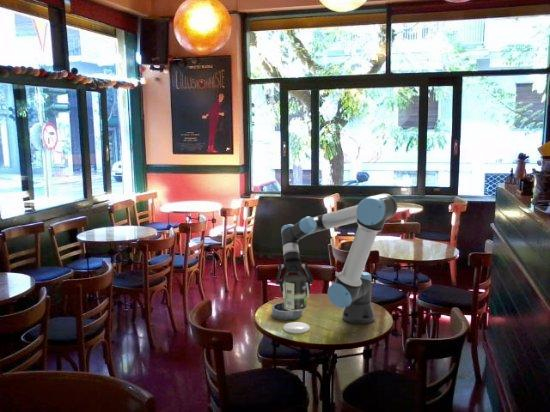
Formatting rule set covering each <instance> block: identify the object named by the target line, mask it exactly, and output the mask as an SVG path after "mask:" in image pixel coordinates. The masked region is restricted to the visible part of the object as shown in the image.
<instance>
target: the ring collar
mask: <svg viewBox="0 0 550 412" xmlns="http://www.w3.org/2000/svg"><path fill="white" fill-rule="evenodd" d="M284 306H285V301H282V302H277V303H274V304H273V305H272V306H271V316H272V318H275V319H277V320H282V321H291V320H292V321H293V320H297V319H299V318H301V317H302V316H303V310H302V311H289V310H286V309H285V308H284Z"/></svg>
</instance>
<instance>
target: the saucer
mask: <svg viewBox="0 0 550 412" xmlns="http://www.w3.org/2000/svg"><path fill="white" fill-rule="evenodd" d="M310 329H311V328H310V325H309V324H308V323H305V322H301V321H293V322H287V323H285V324H284V325H283V331H284V332H285V333H288V334H289V333H290V334H295V335H297V334H304V333H307V332H309V331H310Z"/></svg>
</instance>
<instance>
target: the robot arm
mask: <svg viewBox="0 0 550 412" xmlns="http://www.w3.org/2000/svg"><path fill="white" fill-rule="evenodd" d="M397 211H398V202H397V200H396V199H395V198H394V196H393V195H391V194H389V193H379V194H376V195H375V194H374V195H369V196H367V197H365V198H363V199H362V200H360V202H359V203H358V204H356V205H353V206H349V207H345V208H342V209H338V210H335V211H331V212H327V213H325V214H320V215H316V216H313V217H312V216H309V215H308V216H305V217H303V218H301V219H300V220H299V221H297V223H295V224H292V223H290V224H289V223H288V224H284V225H283V226H281V230H280V231H281V232H280V234H281V235H280V236H281V243H282V253H283V261H284V263H283V264H282V263H278V266H277V270H278V271H277V275H276V279H275V285H278V286H279V290H280V292H281V293H282V298H283V300H285V297H286V294H285V285H284V277H286V276H289V273H290V274H292V273H294V274H297V275H302V276H305V277H306V278H307V280H306V299H309V297H310V290H311V284H313V283H314V278H313V275H312V273H311V271H310V268H309V266H308V262H305V263H302V262H301V256H300V249H299V248H300V247H299V241H300V240H302V239H304V238H305V237H307V236H309V235H312V234H315V233H318V232H322V231H323V232H324V231H327V230H330V229H334V228H338V227H341V226H346V225H350V224H355V223H356V224H357V225H358V226H357V228H356V232H355V235H354V237H353V239H352V243H351V246H350V249H349V252H348V254H347V256H346V257H347V258H346V260H345V262H344V265H343V268H342V271H340V272H338V273H337V275H336V277H335V280H334V283H332V284H331V285H330V286H328V289H327V297H328V298H329V301H330V303H331V304H332V305H333V306H334V307H337V308H339V309H343V311H342V319H343V321H345V322H347V323H351V324H358V325H359V324H360V325H364V324H365V325H366V324H370V323H372V322H374V321H375V312H374V308H373V305H372V275H371V273H369V272H367V271H364V269H365V267H366V263H367V261H368V259H369V256H370V253H371V251H372V248H373V245H374V242H375V239H376V237H377V234H378V233H381V232H382V231H383V228H384V225H385V223H386V221H387V220H389V219H392V218H393V217H394V216H395V215H396V214H397ZM283 268H284V269H285V271H284V274H283V276H282V277H281V273H282V270H283ZM302 268H303V269H304V271H305V272H303V270H302ZM280 277H281V279H280Z"/></svg>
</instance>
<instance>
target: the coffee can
mask: <svg viewBox="0 0 550 412" xmlns="http://www.w3.org/2000/svg"><path fill="white" fill-rule="evenodd" d="M306 277H307V276H306ZM306 277H305V276H302V275H299V274H288V275H287V276H286V277H284V285H285V294H286V297H285V299H284V302H285V306H284V308H285V309H286V310H285V311H302V312H303V311H305V310H306V309H307V308H308V307H307V294H306V280H307V278H308V277H307V278H306Z"/></svg>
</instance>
